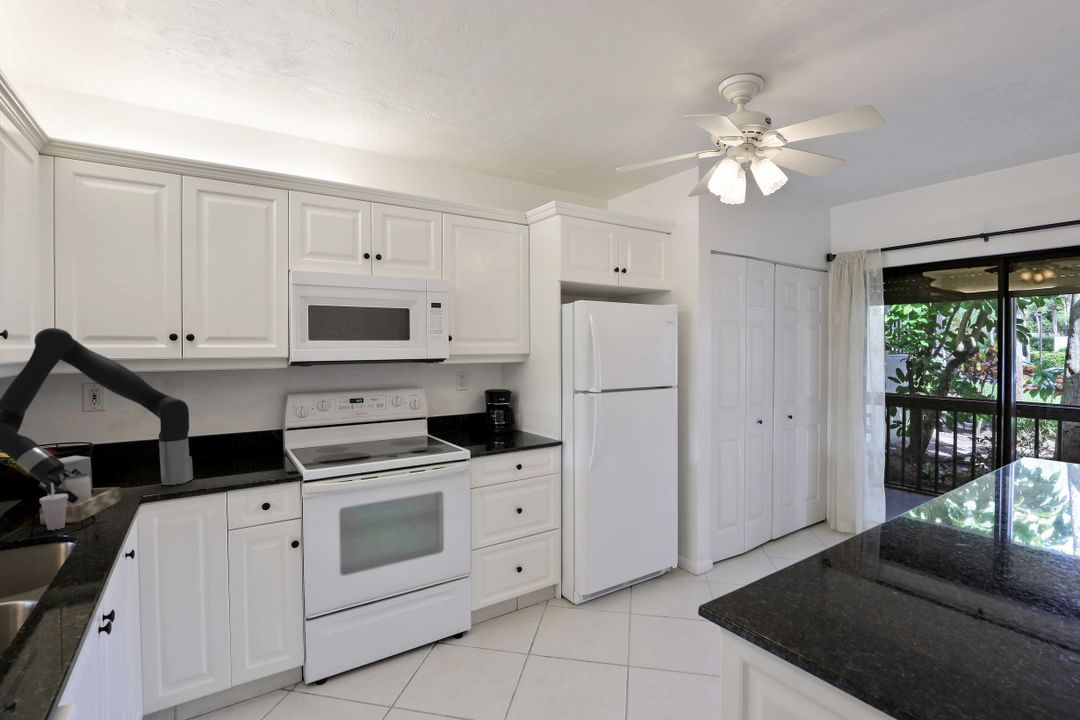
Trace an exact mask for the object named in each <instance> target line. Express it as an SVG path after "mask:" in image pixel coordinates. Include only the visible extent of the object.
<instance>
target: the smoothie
mask: <svg viewBox="0 0 1080 720" xmlns="http://www.w3.org/2000/svg"><path fill="white" fill-rule="evenodd" d="M51 493H52V495H50V496H48V495H46V496H43V497H41V498H39V499H38V500H39V502H38V503H39V504H41V508H42V509H43V513H44V517H45V521H46V524H45V525H46V528H47V531H48V530H53V531H56V530H55V529H58V530H61V528H62V529H63V528H65V526H66V525H65V524H66V523H65V516H66V505H67V499H68V498H69V497H68V494H55V495H54V485H53V483H51Z"/></svg>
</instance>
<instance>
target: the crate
mask: <svg viewBox="0 0 1080 720" xmlns="http://www.w3.org/2000/svg"><path fill="white" fill-rule="evenodd" d="M91 489H93V490H94V493H93V494H92V495H91V498H90V499H88V500H86V501H83V502H81V503H79V504H77V505H67V506H66V516H65V524H67V523H68V524H69V523H70V524H71V523H80V522H82V521H84V520H85V519H87V518H89V517H92V516H94V515H96V514H98V513H100V512H102V511H103V510H106V509H108V508H110V507H112V506H114V505H116V504H118V503H119V501H120V502H122V496H121V495H122V493H121V486H116V487H115V486H114V487H96V488H95V487H94V488H93V487H92V488H91ZM117 502H118V503H117ZM115 503H116V504H115ZM113 504H114V505H113ZM111 505H112V506H111ZM109 506H110V507H109ZM107 507H108V508H107ZM39 522H40V525H46V521H45V517H44V513H43V509H42V507H39Z"/></svg>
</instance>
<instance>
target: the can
mask: <svg viewBox="0 0 1080 720" xmlns="http://www.w3.org/2000/svg"><path fill="white" fill-rule="evenodd" d="M65 486H66V488H67V489H68V491H70V492H72V493H73V494H75V495H76V496H77V497H78V500H77V501H76V502H74V503H71V502H69V501H68V500H67V505H77V504H79V503H81V502H83V501H86V500H88V499H90V498H91V486H90V478H89V477H88V474H78V475H72V476H68V477H66V478H65ZM67 505H66V506H67Z"/></svg>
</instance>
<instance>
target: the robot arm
mask: <svg viewBox="0 0 1080 720" xmlns="http://www.w3.org/2000/svg"><path fill="white" fill-rule="evenodd" d="M34 345H35V346H34V349H33V352H32V354H31V356H30V358H29V360H28V361H27V363H26V364H25V365H24V367H23V368H22V369H21V371H20V372H19V373H18V375H17V376H16V377H15V378H14V379H13V381H12V382H11V383H10V384H9V386H8V388H6V391H4V393H3V395H2V396H1V398H0V452H3V453H4V454H5V455H6V456H8V457H9V458H10V459H12V460H13V462H15V463H17V464H18V465H19V466H20V468H22V469H23V470H24V471H26V472H27V473H28V474H29V475H31V477H33V478H34V479H35V480H37V481H38V482H39V484H38V485H37V486H38V488H40V489H41V490H42V491H44V492H46V493H47V494H48V493H49V494H50V495H52V493H51V483H53V485H54V491H55V492H54V495H55V494H68V497H69V498H68V499H67V500H68V501H69V502H71V503H74V502H76V501H77V500H78V497H77V496H76V495H75V494H73V493H72V492H70V491H68V489H67V488H66V486H65V478H66V477H68V476H72V475H78V474H82V473H81V472H79V471H78V470H77V469H74V470H73V471H70V472H69V471H67V470H65V469H64V463H62V462H61V461H60V460H59V459H60V458H57V457H56V456H54V455H53V454H52V453H51V452H50V451H48V450H47V449H45V448H43V447H41V446H40V445H39V444H38V443H36V441H34V440H33V439H31V438H30V437H28V436H24V435H21V434H19V433H18V432H19V431H20V429H21V426H22V424H23V421H24V418H25V413H26V411H28V408H29V407H30V406H31V404H32V402H33V401H34V400H35V397H36V396H37V394H38V393H39V391H40V390H41V387H42V385H43V384H44V383H45V381H46V379H47V377H48V376H49V374H50V373H51V372H52V370H53V369H54V368H55V367H56V365H57V364H58V363H59V362H60V361H62V362H64V363H66V364H69V366H70V365H71V367H74V368H75V369H76V370H78V371H79V372H81V373H82V374H84V375H85V376H86V377H88V378H89V379H90V380H91V381H93V382H95V383H97V384H99V385H100V386H101V387H103V388H105V389H107V390H108V391H110V392H112V393H114V394H116V395H118V396H120V397H123V398H125V399H127V400H130V401H132V402H135V403H136V404H138V405H140V406H141V407H143V408H145V409H146V410H147V411H149V412H151V414H153V415H155V416H156V417H157V418H158V419H159V420H160V421H159V422H160V423H159V424H160V430H159V433H158V446H159V461H160V462H159V463H160V479H161V480H160V481H161V486H162V485H175V484H181V485H183V484H182V483H185V484H187V483H186V482H188V481H190V480H192V479H193V480H194V475H193V474H194V473H193V459H192V458H193V457H192V456H190V448H189V447H190V446H189V432H190V411H189V407H188V405H187V403H186V402H185V401H184V400H181V399H178V398H175V397H173V396H172V397H171V396H170V395H167V394H165V393H163V392H162V391H159V390H158V389H156V388H154V387H152V386H151V385H150V384H149V383H147V381H145V380H144V379H143V378H142V377H141V376H139V375H138V374H136V372H134V371H132V370H130V369H128V368H127V367H126V366H124V365H122V364H120V363H119V362H117V361H115V360H113V359H111V358H109V357H106V356H105V355H101V354H99V353H97V352H94V351H93V350H91V349H90V348H88V347H86V346H84V344H81V343H80V342H79V341H77V340H76V339H75V338H73V336H72V335H71V334H70V333H69V332H68V331H67V330H64V329H61V328H56V327H49V328H44V329H42V330H40V331H39V332H37V334H36V335H35V337H34ZM193 480H192V481H193ZM190 482H191V481H190ZM188 483H189V482H188ZM175 486H176V485H175ZM93 493H94V490H93V489H91V495H92V494H93Z"/></svg>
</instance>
